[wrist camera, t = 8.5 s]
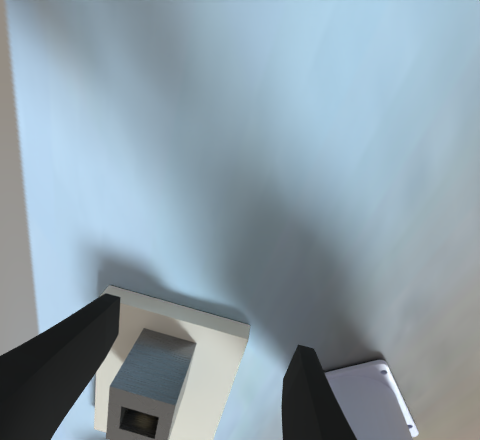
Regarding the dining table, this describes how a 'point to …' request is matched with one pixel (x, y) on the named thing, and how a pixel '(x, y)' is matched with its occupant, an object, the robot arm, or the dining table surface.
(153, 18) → the dining table surface
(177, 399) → the grey hollow block
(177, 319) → the housing base
